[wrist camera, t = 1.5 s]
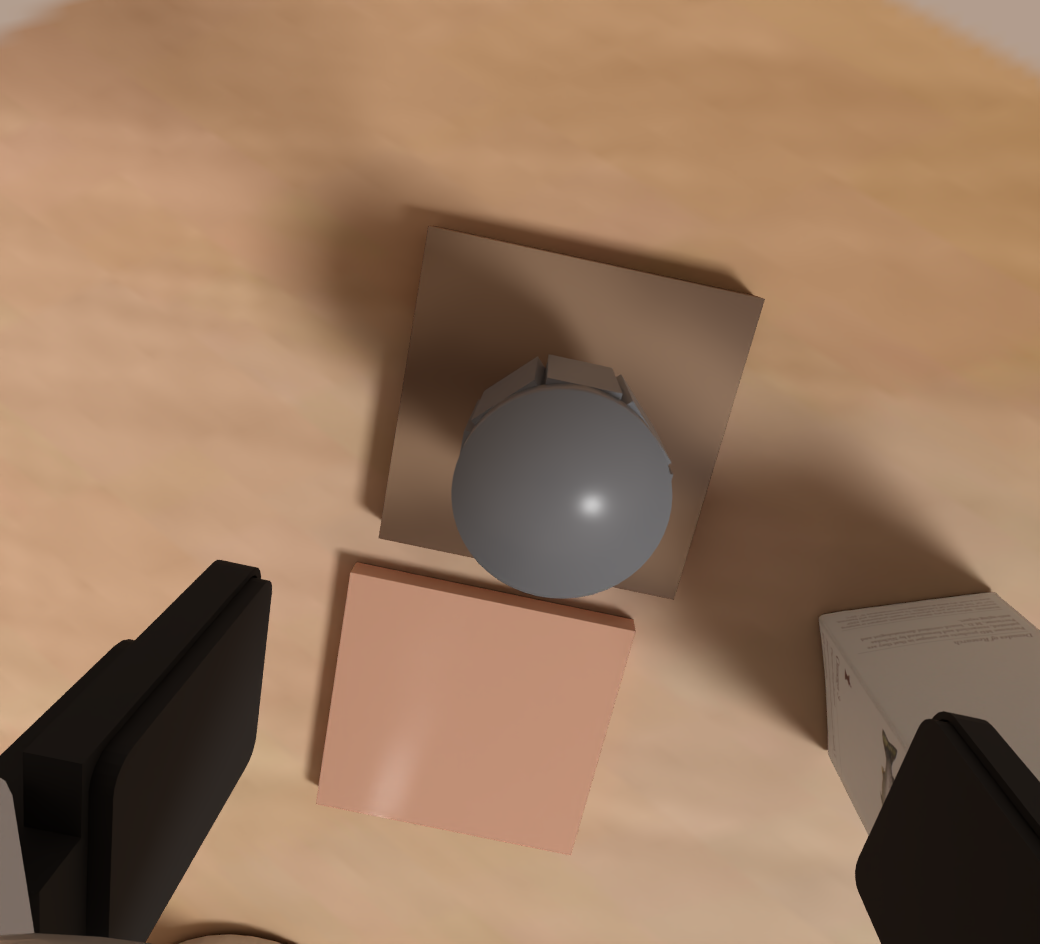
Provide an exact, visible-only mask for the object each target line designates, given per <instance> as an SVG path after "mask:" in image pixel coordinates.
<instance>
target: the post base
mask: <svg viewBox="0 0 1040 944" xmlns="http://www.w3.org/2000/svg"><path fill="white" fill-rule="evenodd" d="M764 300H765V299H763V298H760V297H757V296H754V295H750V294H745V293H741V292H736V291H732V290H727V289H722V288H718V287H713V286H709V285H704V284H699V283H695V282H690V281H686V280H681V279H676V278H672V277H667V276H662V275H658V274H653V273H649V272H644V271H639V270H635V269H630V268H626V267H621V266H616V265H612V264H607V263H603V262H598V261H593V260H589V259H584V258H579V257H575V256H570V255H566V254H561V253H556V252H552V251H547V250H543V249H538V248H533V247H529V246H524V245H520V244H515V243H510V242H506V241H501V240H496V239H492V238H487V237H483V236H478V235H473V234H469V233H464V232H460V231H455V230H450V229H446V228H441V227H437V226H428V232H427V238H426V244H425V251H424V257H423V263H422V270H421V276H420V282H419V288H418V295H417V301H416V307H415V313H414V320H413V326H412V332H411V338H410V345H409V351H408V357H407V364H406V370H405V376H404V382H403V389H402V395H401V401H400V407H399V414H398V420H397V426H396V432H395V439H394V445H393V451H392V458H391V464H390V470H389V476H388V483H387V489H386V495H385V501H384V508H383V514H382V520H381V526H380V533H379V538H380V539H385V540H390V541H395V542H399V543H404V544H409V545H414V546H419V547H423V548H428V549H433V550H438V551H443V552H447V553H452V554H457V555H462V556H467V557H471V558H474V557H473V556H472V554H471V553H470V552H469V550H468V549H467V547H466V545H465V544H464V542H463V540H462V538H461V536H460V534H459V531H458V529H457V526H456V522H455V519H454V515H453V509H452V500H451V489H452V480H453V474H454V470H455V467H456V463H457V461H458V458H459V455H460V450H461V444H462V439H463V434H464V430H465V428H466V425H467V423H468V421H469V419H470V417H471V414H472V412H473V410H474V408H475V406H476V403H477V401H478V400H480V399H481V397H482V395H483V392H484V391H485V390H486V389H488V388H489V387H491V386H492V385H494V384H496V383H497V382H499V381H500V380H502V379H503V378H505V377H506V376H508V375H510V374H511V373H513V372H514V371H516V370H517V369H519V368H520V367H522V366H523V365H525V364H527V363H528V362H530V361H531V360H533V359H534V358H536V357H537V356H538V357H539V359H540V360H541V362H542V363H543V365H544V367H545V368H546V364H547V360H548V355H549V354H550V355H555V356H559V357H564V358H569V359H573V360H578V361H583V362H587V363H592V364H597V365H601V366H606V367H611V368H612V369H613V371H614V374H615V376H616V377H617V376H619V375H620V374H621V375H622V376H623V378H624V379H625V381H626V383H627V384H628V386H629V388H630V389H631V391H632V392H633V394H634V396H635V397H636V399H637V400H638V402H639V404H640V405H641V407H642V408H643V410H644V412H645V413H646V415H647V417H648V418H649V420H650V421H651V423H652V425H653V426H654V428H655V430H656V432H657V434H658V436H659V438H660V440H661V442H662V444H663V446H664V448H665V450H666V452H667V454H668V456H669V458H670V460H671V464H669V467H670V469H671V471H672V473H673V478H672V481H671V482H672V507H671V513H670V517H669V522H668V525H667V527H666V530H665V533H664V535H663V537H662V539H661V541H660V543H659V545H658V547H657V548H656V549H655V551H654V552H653V554H652V555H651V557H650V558H649V559H648V560H647V561H646V562H645V563H644V564H643V565H642V567H641V568H639V569H638V570H637V571H636V572H635V573H633V574H632V575H631V576H630V577H628V578H627V579H625V580H624V581H622V582H621V583H619V584H617V585H615V586H613V587H615V588H620V589H625V590H630V591H635V592H639V593H644V594H649V595H654V596H659V597H663V598H668V599H673V600H674V597H675V594H676V591H677V588H678V584H679V581H680V578H681V574H682V571H683V568H684V564H685V561H686V558H687V554H688V551H689V548H690V545H691V541H692V538H693V535H694V531H695V528H696V525H697V521H698V518H699V515H700V512H701V508H702V505H703V502H704V498H705V495H706V492H707V488H708V485H709V482H710V479H711V475H712V472H713V469H714V465H715V462H716V459H717V455H718V452H719V449H720V445H721V442H722V439H723V436H724V432H725V429H726V426H727V422H728V419H729V416H730V412H731V409H732V406H733V403H734V399H735V396H736V393H737V389H738V386H739V383H740V379H741V376H742V373H743V370H744V366H745V363H746V360H747V356H748V353H749V350H750V346H751V343H752V340H753V336H754V333H755V330H756V327H757V323H758V320H759V317H760V313H761V310H762V307H763V303H764Z"/></svg>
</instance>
